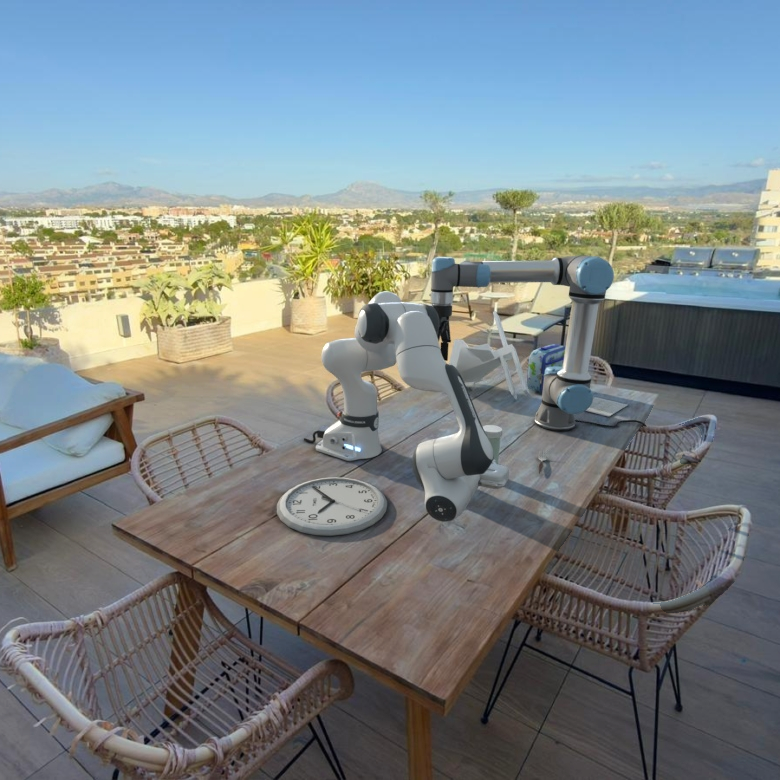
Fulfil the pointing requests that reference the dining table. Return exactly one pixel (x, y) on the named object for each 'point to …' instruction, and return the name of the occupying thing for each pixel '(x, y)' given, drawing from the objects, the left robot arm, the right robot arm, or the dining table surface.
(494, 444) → the jar
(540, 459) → the fork
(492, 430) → the lid
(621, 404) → the invitation card
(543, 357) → the lunch box
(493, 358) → the white plastic object
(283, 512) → the wall clock
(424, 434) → the dining table surface
